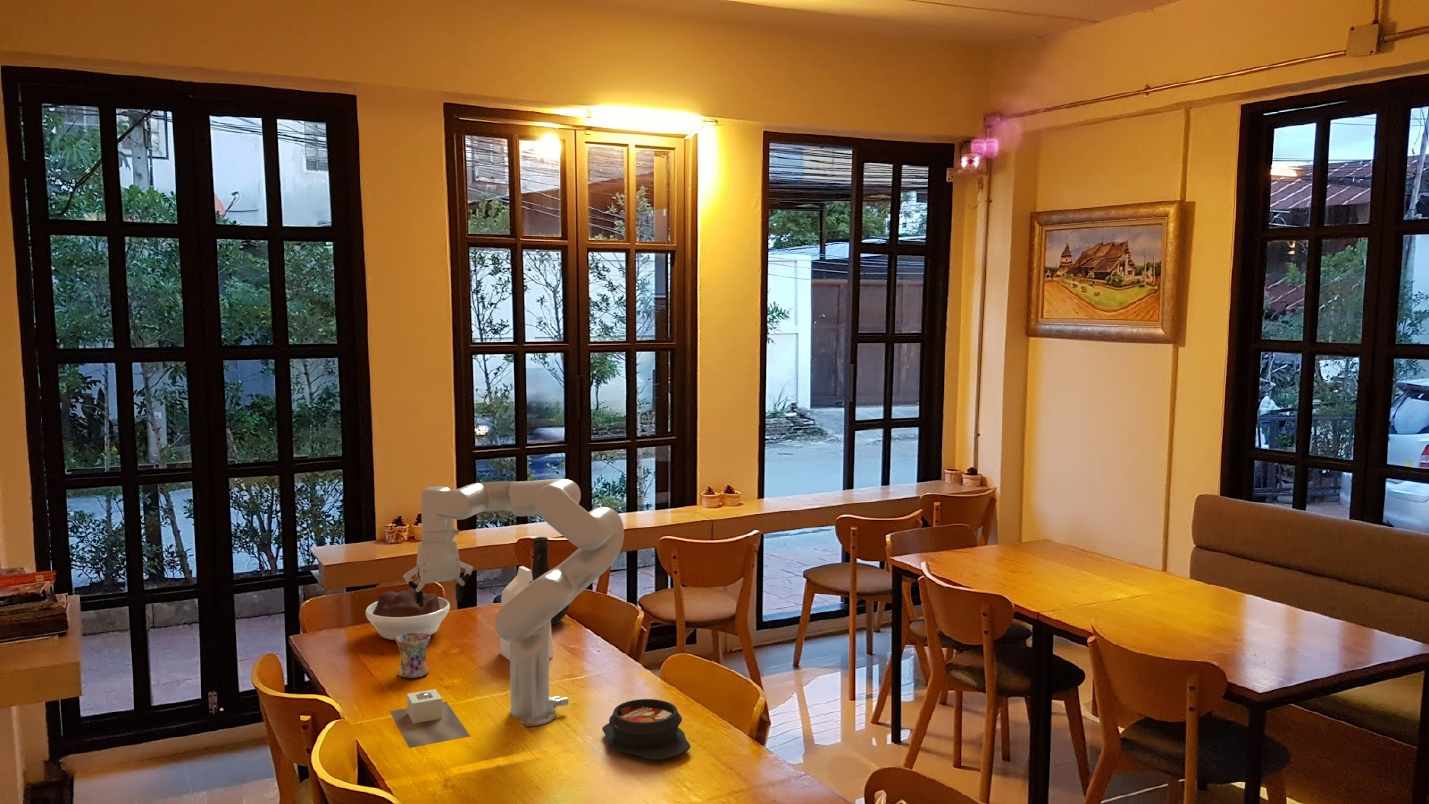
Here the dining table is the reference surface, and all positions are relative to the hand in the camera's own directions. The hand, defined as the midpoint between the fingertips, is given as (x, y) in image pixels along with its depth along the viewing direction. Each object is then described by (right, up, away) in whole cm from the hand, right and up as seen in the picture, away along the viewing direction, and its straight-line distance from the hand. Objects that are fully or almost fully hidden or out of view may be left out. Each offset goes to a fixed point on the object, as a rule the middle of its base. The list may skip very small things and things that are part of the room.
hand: (439, 603), depth 258 cm
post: (-3, -27, -5) cm, 27 cm away
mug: (-15, -25, +28) cm, 41 cm away
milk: (+14, -24, +43) cm, 51 cm away
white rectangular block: (-2, -27, -6) cm, 27 cm away
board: (0, -29, -10) cm, 30 cm away
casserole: (+53, -30, -18) cm, 64 cm away
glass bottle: (+13, -21, +74) cm, 79 cm away
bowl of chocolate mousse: (-26, -22, +61) cm, 70 cm away
